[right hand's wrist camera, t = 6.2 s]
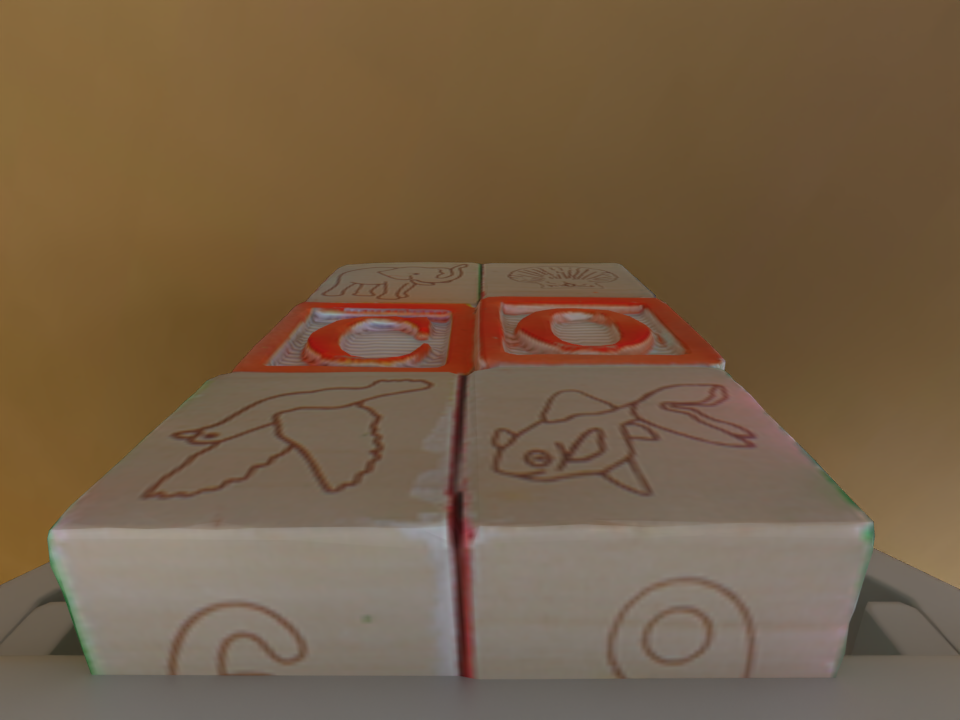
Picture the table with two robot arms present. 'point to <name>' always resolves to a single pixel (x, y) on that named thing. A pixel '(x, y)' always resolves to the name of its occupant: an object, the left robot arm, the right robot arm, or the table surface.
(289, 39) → the table surface
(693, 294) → the table surface
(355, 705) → the right robot arm
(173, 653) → the stack of blocks
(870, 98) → the table surface
